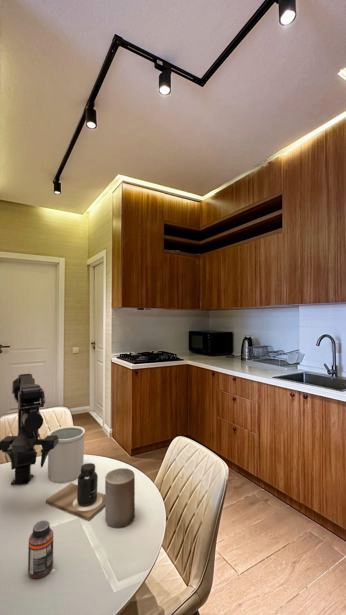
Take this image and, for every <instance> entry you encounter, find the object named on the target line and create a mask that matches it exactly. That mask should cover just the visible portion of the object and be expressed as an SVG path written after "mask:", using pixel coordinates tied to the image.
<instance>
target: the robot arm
mask: <svg viewBox="0 0 346 615" xmlns="http://www.w3.org/2000/svg"><path fill="white" fill-rule="evenodd" d="M17 376H18V377H17V378H16V379H14V380H13V381H12V386H11V394H12V395H13V399H14V400H15V402H16V404H17V435H6V436H5V437H4V438H3V439H0V451H1V452H2V453H5V454H7V455H8V457H9V459H10V467H11V471H12V470H14V478H13V480H12V481H11V482H10V485H11V486H12V485H15V486H18V485H19V486H20V485H27V484H29V483H30V482H31V481H32V479H33V478H34V476H35V474H32V473H31V472H32V471H31V469H32V468H31V466H33V465H35V464H36V463H37V455H38V451H36V448H35V447H36V446H41V450H40V453H41V456H40V457H41V459H40V468H43V467H44V465H45V462H46V460H47V458H48V453H49V451H50V450H51V449H54V448H55V446H56V445H57V444H58V443H59V438H58V436H57V435H48V434H47V436H45V437H44V438H40V437H41V436H40V433H39V430H40V429H41V428H42V426H43V424H44V418H43V416H42V414H41V411H40V408H44V407H45V405H44V404H46V398H45V397H46V396H45V391H44V389H43V388H42V387H41V386H40V384H37V383H36V382H35V381H36V380H35V378H33V374H32V373H20V374H18V375H17Z"/></svg>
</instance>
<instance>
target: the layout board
mask: <svg viewBox="0 0 346 615" xmlns="http://www.w3.org/2000/svg"><path fill="white" fill-rule="evenodd" d="M77 485H78V484H75V483H72V482H70V483H69V484H68V485H65V486H64V487H63V488H62V489H60V490H58V491H57V492H55V493H53V495H51V496H49V497H47V498H46V499H45V504H46V505H48V506H51V507H54V508H55V509H58V510H61V511H63V512H64V513H65V512H66V513H67V514H70V515H73V516H75V517H78V518H79V519H83V520H85V521H88V522H90V521H91V520H92V519H93V518H94V517H95V516H97V514H99V513H100V512H101V511H102V510H103V509H104V508H105V494H104V493H101V492H99V491H97V500H96V502H95V503H94V504H93V505H91V506H86V507H83V506H80V505H78V503H77Z"/></svg>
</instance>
